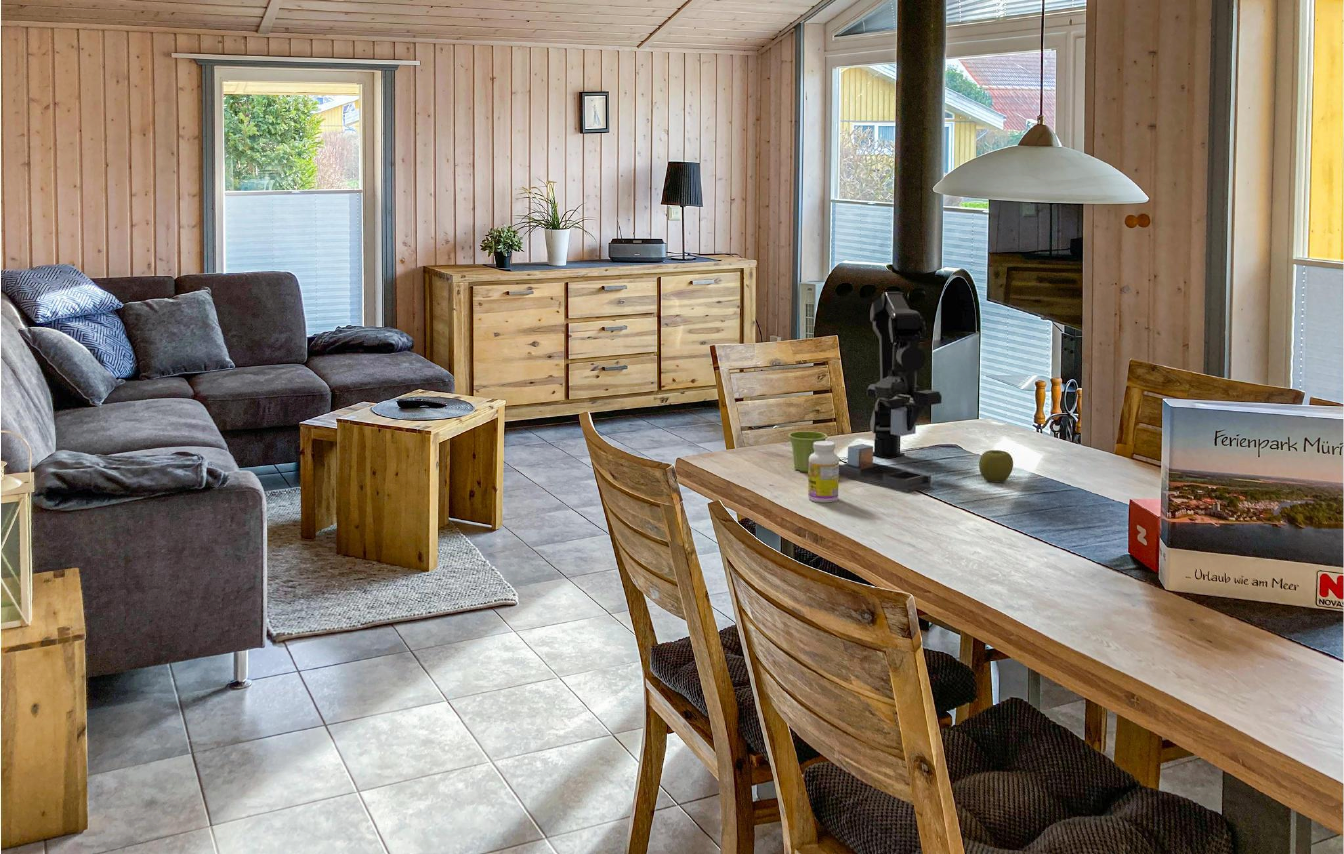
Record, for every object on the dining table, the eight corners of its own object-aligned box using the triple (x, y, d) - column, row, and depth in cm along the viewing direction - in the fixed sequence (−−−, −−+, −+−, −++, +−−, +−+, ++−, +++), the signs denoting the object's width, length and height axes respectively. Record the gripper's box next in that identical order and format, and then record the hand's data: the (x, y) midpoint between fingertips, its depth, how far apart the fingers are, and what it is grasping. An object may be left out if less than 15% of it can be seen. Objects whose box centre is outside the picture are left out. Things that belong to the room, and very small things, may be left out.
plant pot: (826, 465, 299) (826, 431, 297) (827, 474, 289) (827, 439, 288) (788, 464, 299) (788, 430, 298) (788, 473, 290) (788, 438, 289)
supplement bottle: (805, 496, 269) (806, 440, 266) (834, 495, 269) (835, 439, 267) (811, 503, 262) (812, 446, 260) (841, 502, 263) (842, 445, 260)
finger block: (903, 431, 292) (903, 406, 290) (915, 433, 289) (916, 408, 287) (889, 433, 288) (889, 409, 287) (901, 436, 285) (902, 411, 284)
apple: (994, 486, 276) (996, 456, 275) (970, 479, 283) (972, 450, 282) (1019, 483, 280) (1020, 453, 278) (995, 476, 286) (996, 446, 285)
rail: (859, 470, 293) (860, 441, 292) (930, 487, 276) (931, 456, 275) (836, 475, 288) (837, 445, 287) (907, 492, 271) (908, 461, 270)
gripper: (852, 364, 288) (850, 427, 291) (912, 372, 273) (910, 439, 276) (883, 359, 294) (881, 422, 297) (944, 368, 280) (941, 433, 283)
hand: (902, 429), depth 288 cm, fingers closed on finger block, 4 cm apart
